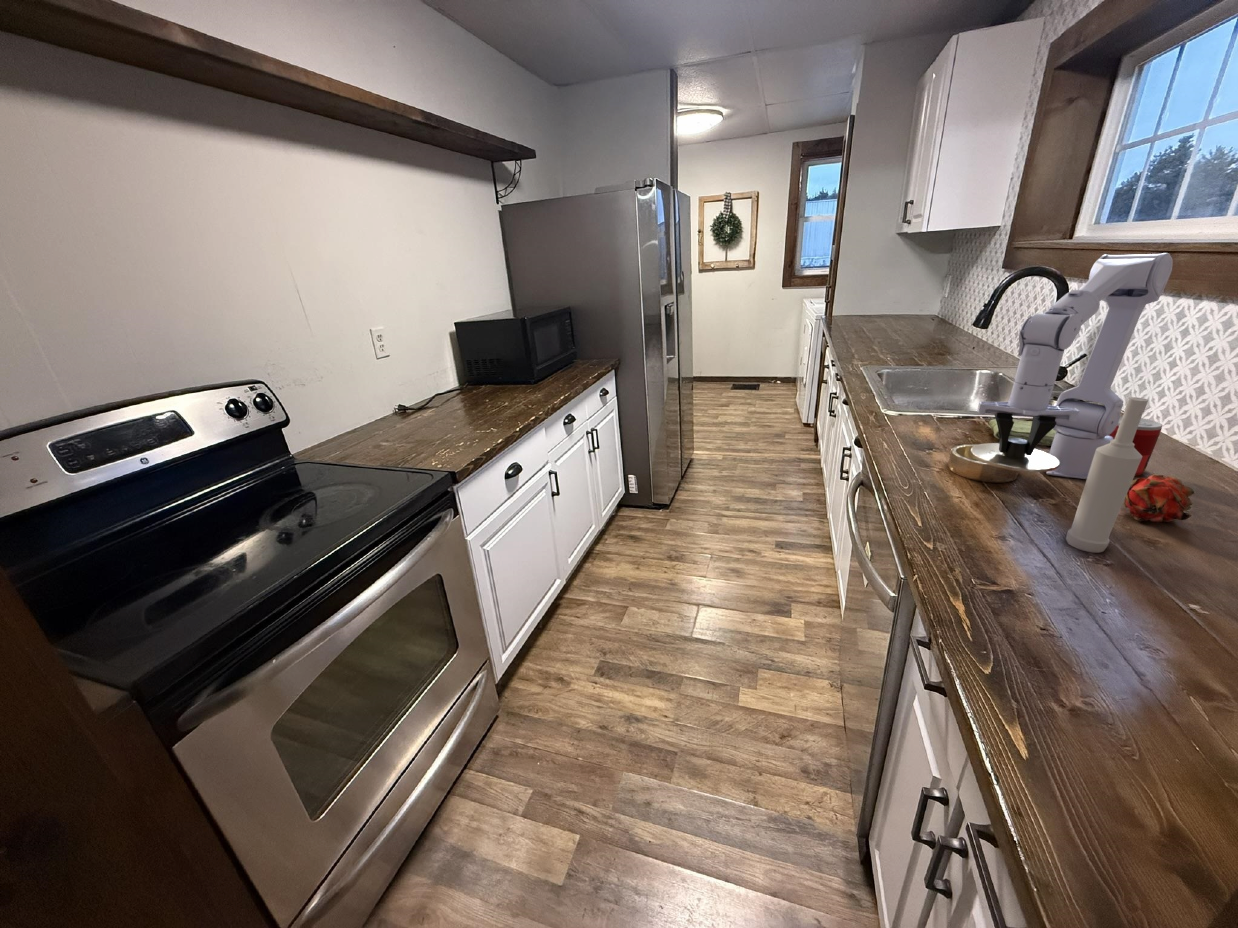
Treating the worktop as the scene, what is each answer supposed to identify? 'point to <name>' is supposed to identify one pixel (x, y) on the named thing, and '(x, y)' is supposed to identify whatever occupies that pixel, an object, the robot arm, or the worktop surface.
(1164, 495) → the dragon fruit
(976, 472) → the pot
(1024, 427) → the washcloth
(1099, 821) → the worktop surface
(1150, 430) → the canned food
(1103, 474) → the bottle
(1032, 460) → the lid
